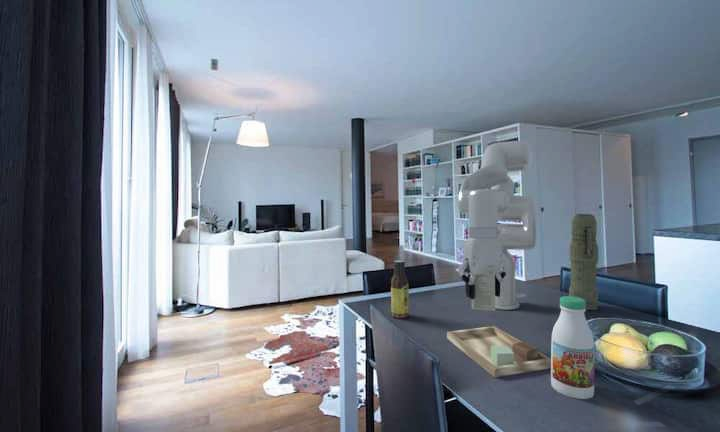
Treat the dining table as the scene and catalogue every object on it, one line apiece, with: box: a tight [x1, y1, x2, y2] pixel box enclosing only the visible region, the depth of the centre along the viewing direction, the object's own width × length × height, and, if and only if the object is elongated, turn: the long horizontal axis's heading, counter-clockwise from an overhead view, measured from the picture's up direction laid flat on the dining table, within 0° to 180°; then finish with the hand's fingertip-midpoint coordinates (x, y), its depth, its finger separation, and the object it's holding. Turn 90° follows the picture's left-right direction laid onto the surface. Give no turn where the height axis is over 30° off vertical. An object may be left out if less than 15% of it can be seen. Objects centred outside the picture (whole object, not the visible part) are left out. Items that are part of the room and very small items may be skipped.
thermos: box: [568, 213, 599, 311], centre depth 121 cm, size 9×12×35 cm
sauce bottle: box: [390, 259, 410, 319], centre depth 116 cm, size 6×6×20 cm
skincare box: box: [471, 266, 496, 312], centre depth 90 cm, size 6×4×12 cm
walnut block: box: [512, 341, 539, 363], centre depth 80 cm, size 4×4×4 cm
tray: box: [446, 325, 551, 378], centre depth 86 cm, size 16×22×2 cm
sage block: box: [491, 346, 514, 366], centre depth 79 cm, size 4×4×4 cm
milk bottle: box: [550, 295, 595, 400], centre depth 69 cm, size 8×8×20 cm
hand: (483, 296), depth 90 cm, fingers closed on skincare box, 7 cm apart
